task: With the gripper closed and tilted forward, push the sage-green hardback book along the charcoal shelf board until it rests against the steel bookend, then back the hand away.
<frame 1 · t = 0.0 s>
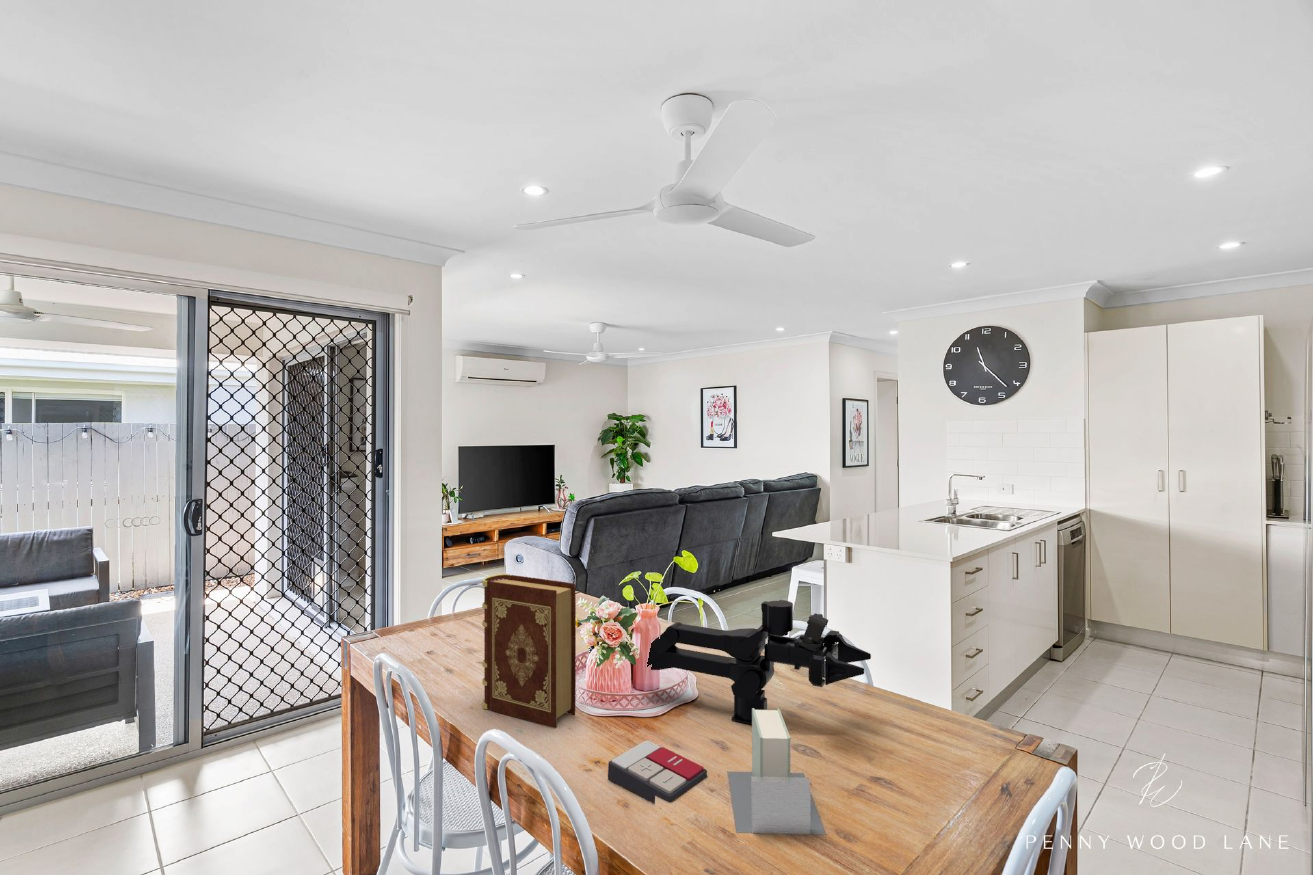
hand: (867, 663, 127), 17 cm above the table, tool horizontal, fingers open, 9 cm apart
book: (770, 790, 107), point 1 cm above the table, touching shelf board
calculator: (657, 784, 113), on the table
shelf board: (772, 808, 105), on the table
decorative book: (526, 711, 142), on the table
bookend: (780, 830, 97), resting on shelf board
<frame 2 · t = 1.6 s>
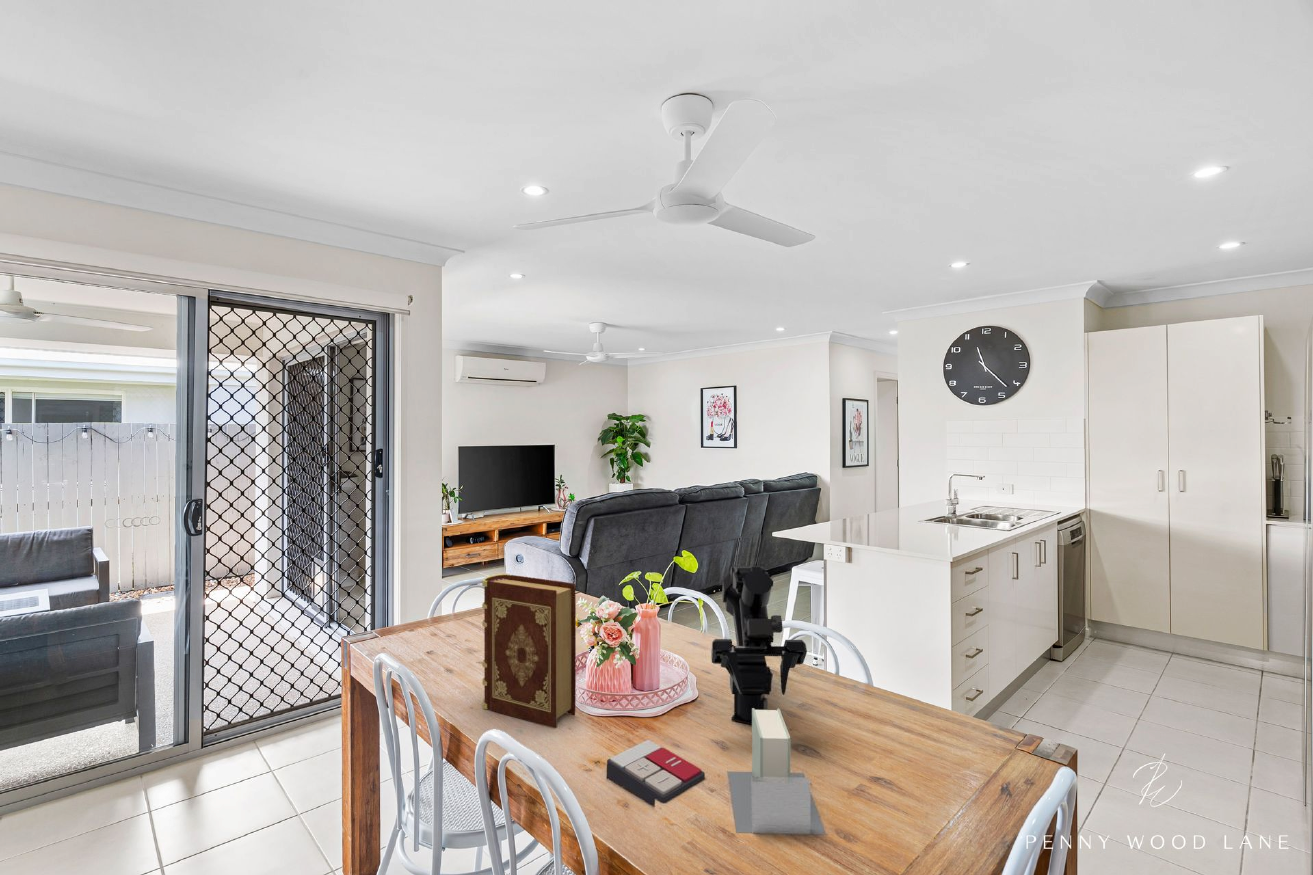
hand: (762, 693, 119), 14 cm above the table, tool tilted 45°, fingers open, 8 cm apart
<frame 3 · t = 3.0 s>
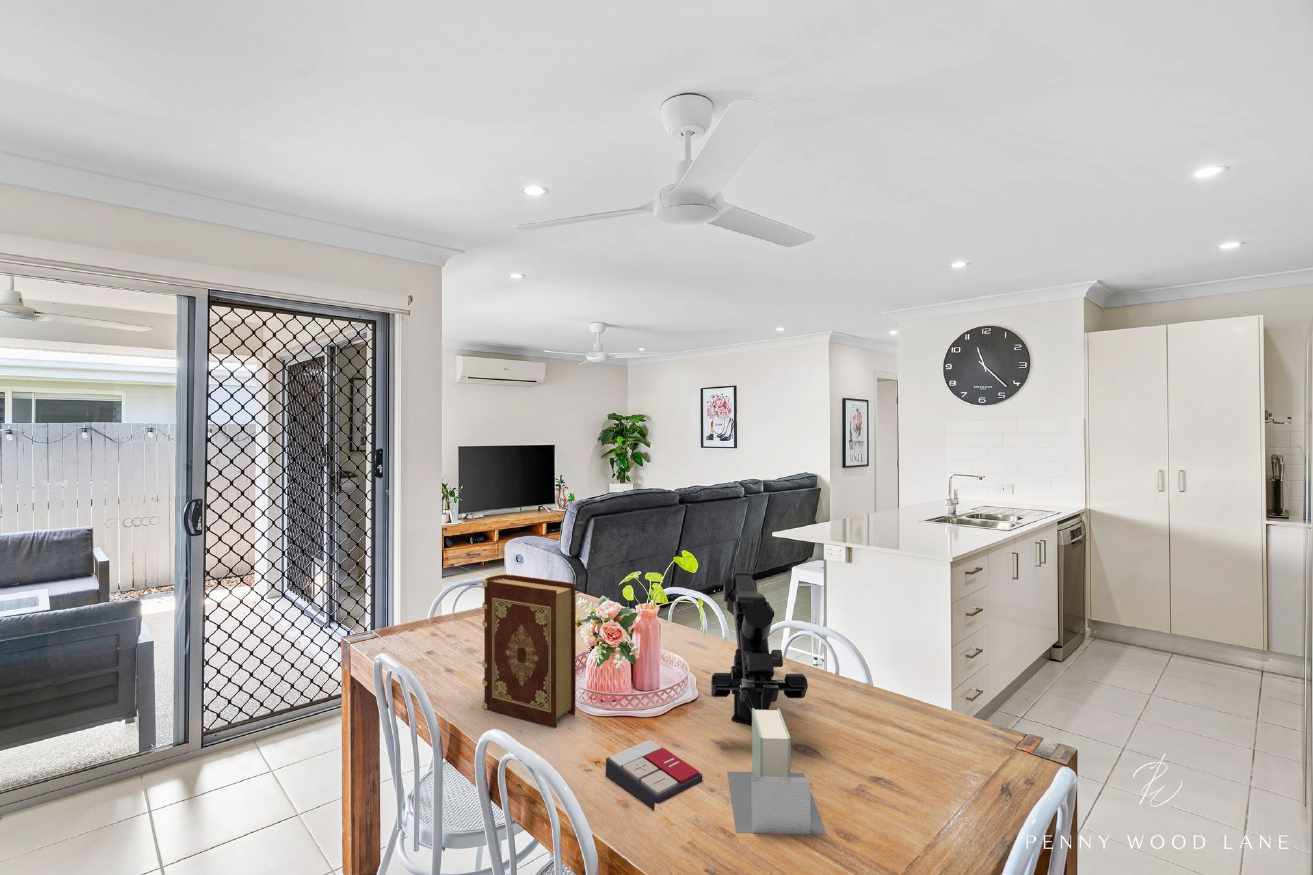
hand: (762, 729, 117), 7 cm above the table, tool tilted 45°, fingers closed
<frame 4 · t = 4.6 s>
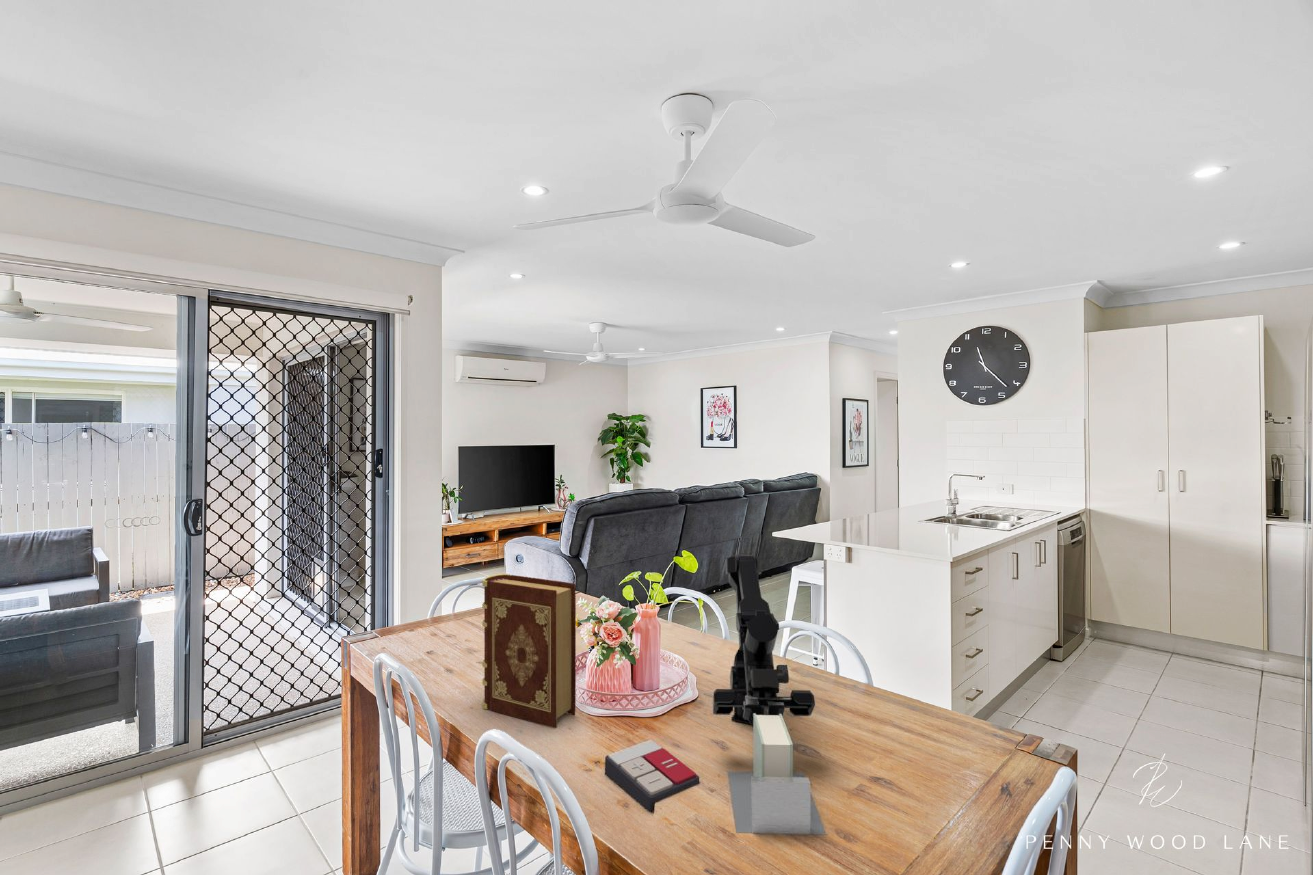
hand: (767, 750, 111), 7 cm above the table, tool tilted 45°, fingers closed, pressing on book
book: (772, 797, 105), point 2 cm above the table, touching gripper, shelf board
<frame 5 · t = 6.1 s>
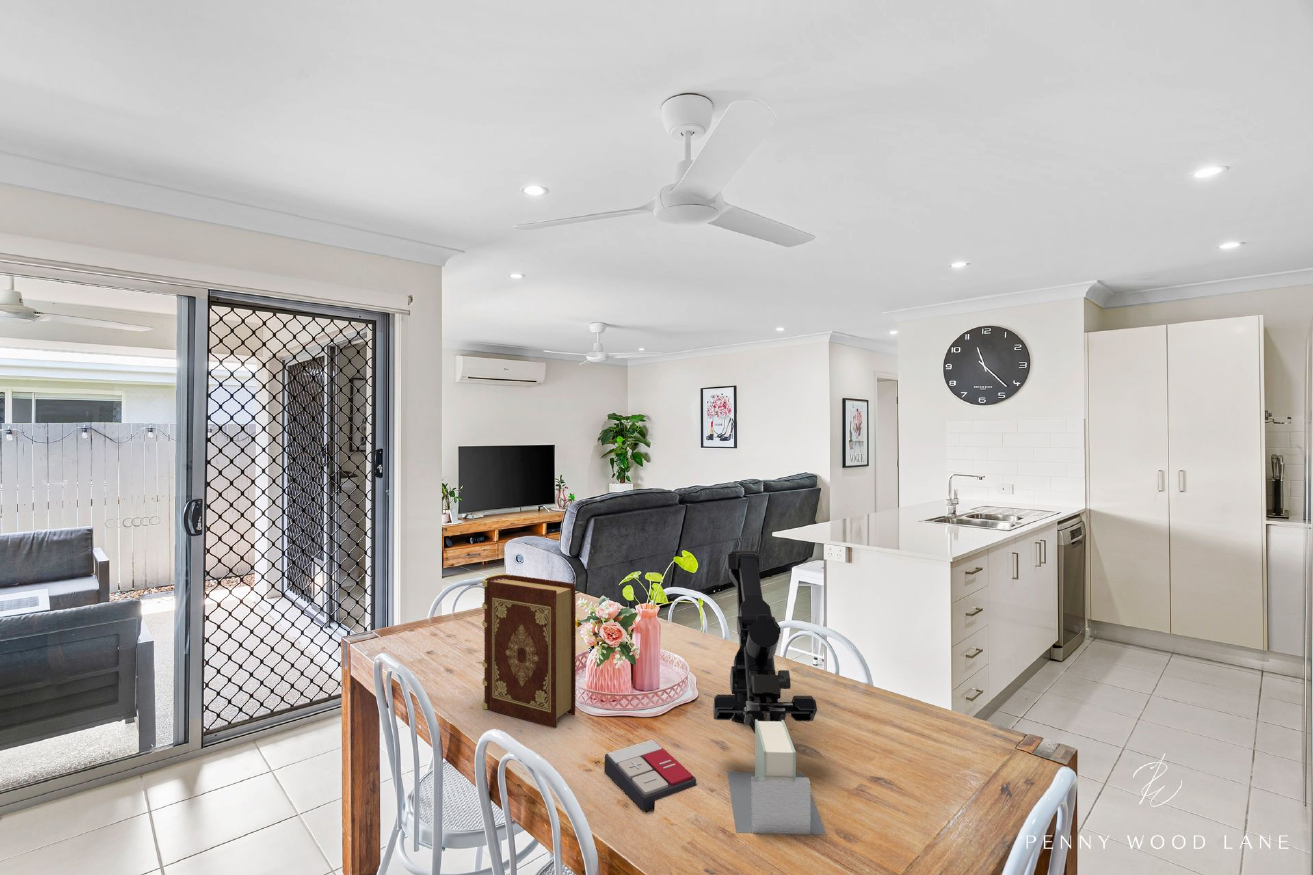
hand: (768, 756, 109), 6 cm above the table, tool tilted 45°, fingers closed
book: (774, 806, 103), point 1 cm above the table, touching shelf board
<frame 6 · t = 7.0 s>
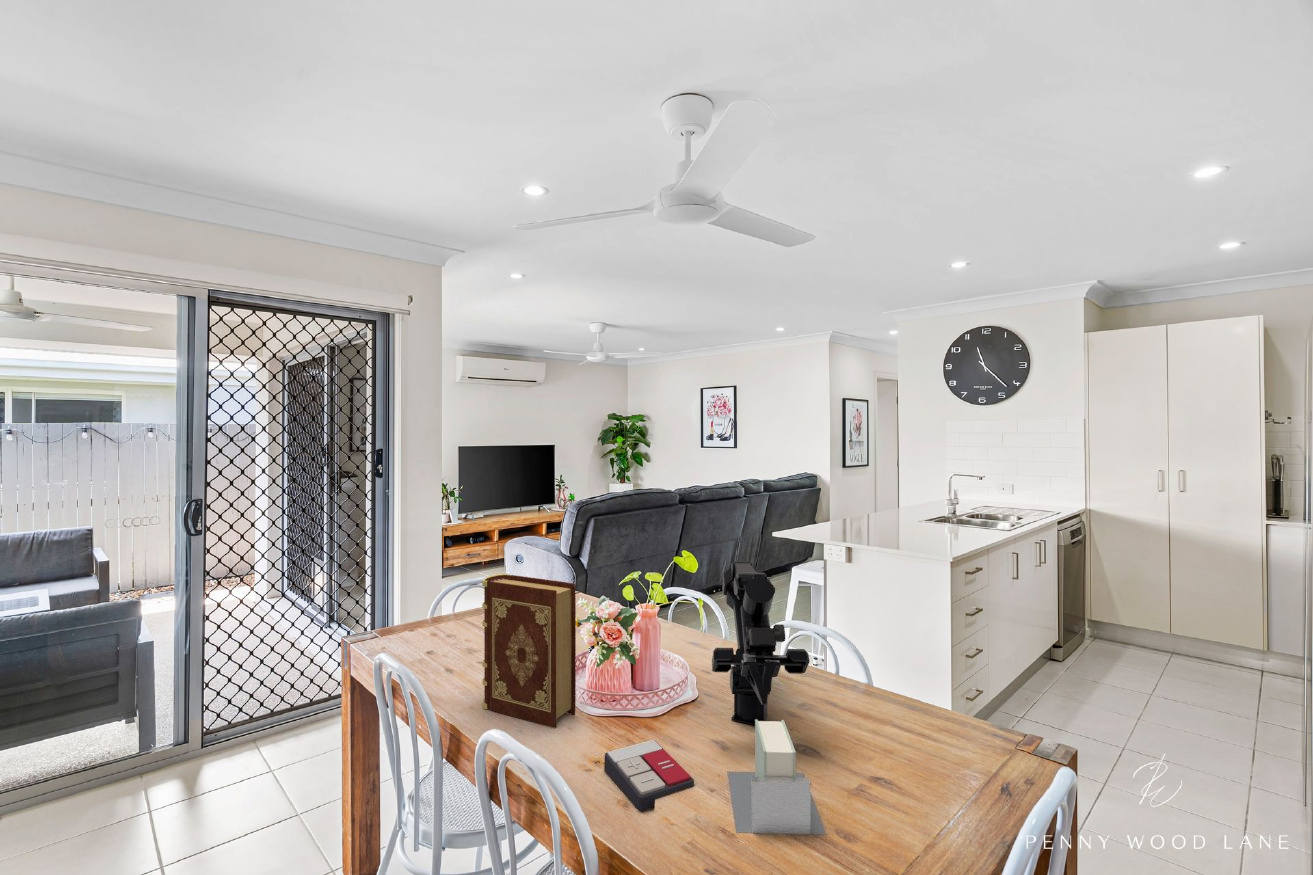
hand: (764, 704, 117), 12 cm above the table, tool tilted 45°, fingers closed
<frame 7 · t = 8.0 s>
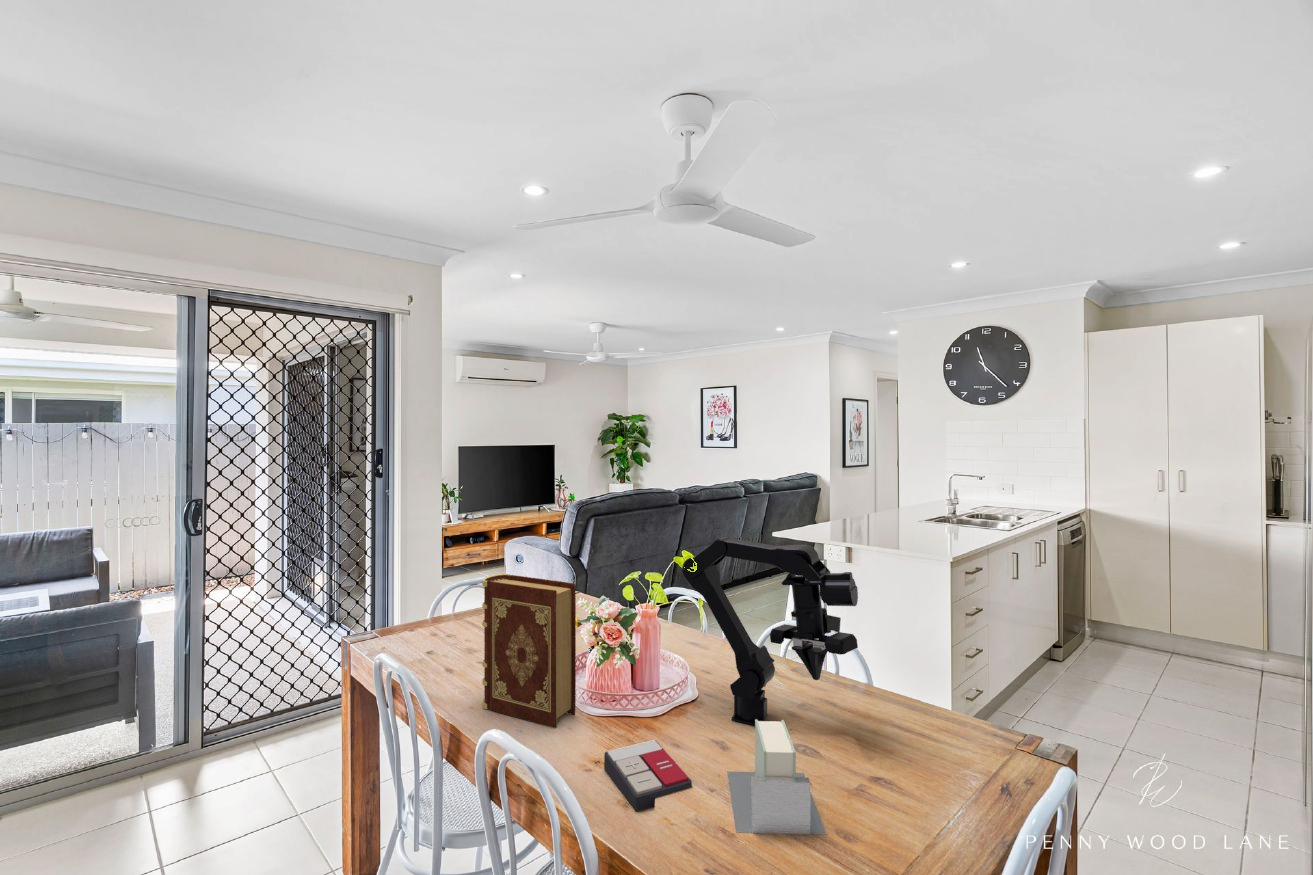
hand: (816, 679, 131), 12 cm above the table, tool pointing down, fingers closed
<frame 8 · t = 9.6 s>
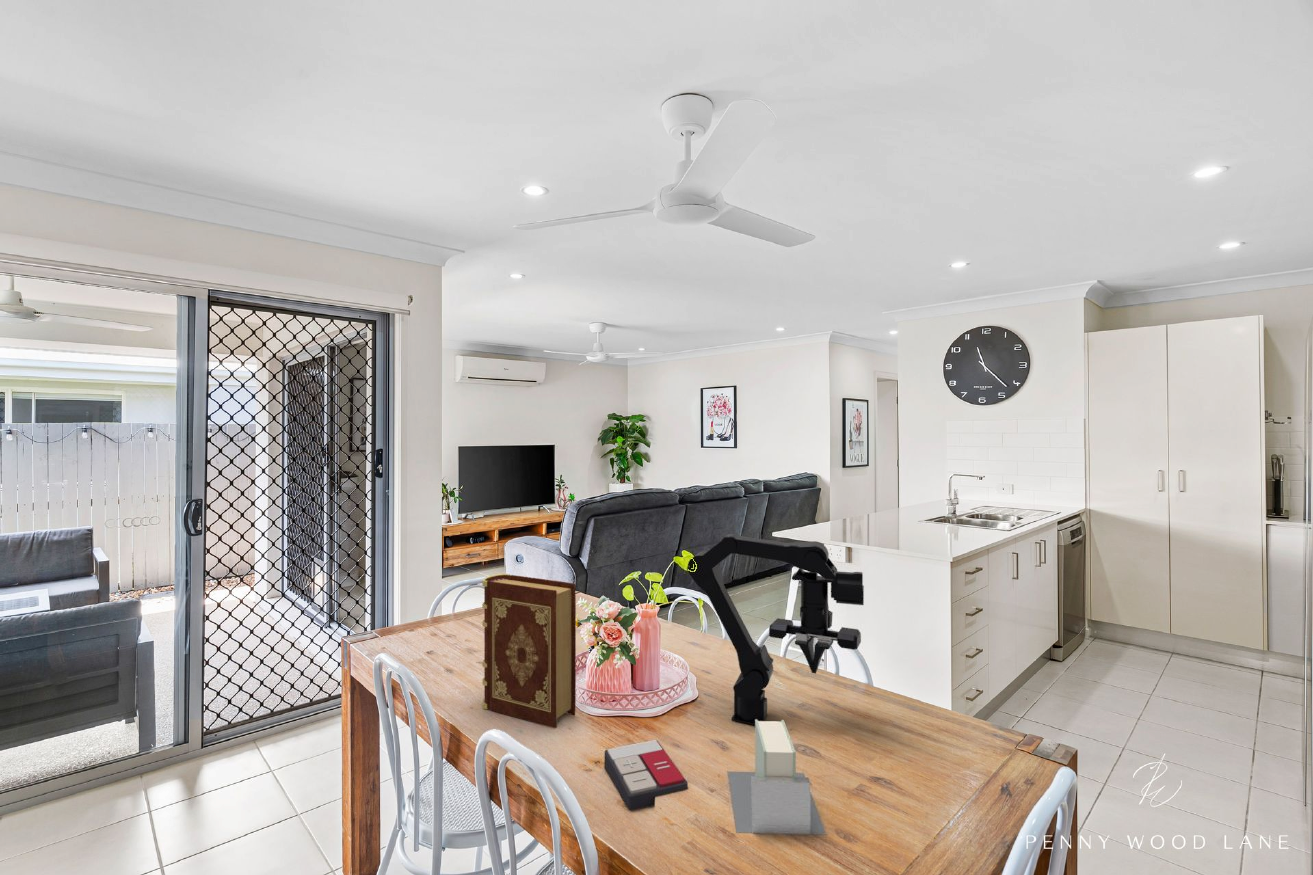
hand: (814, 672, 134), 12 cm above the table, tool pointing down, fingers closed
at the end: book 6.3 cm from the bookend (horizontally); book tilted 0°; book moved 4.5 cm from its start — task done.
